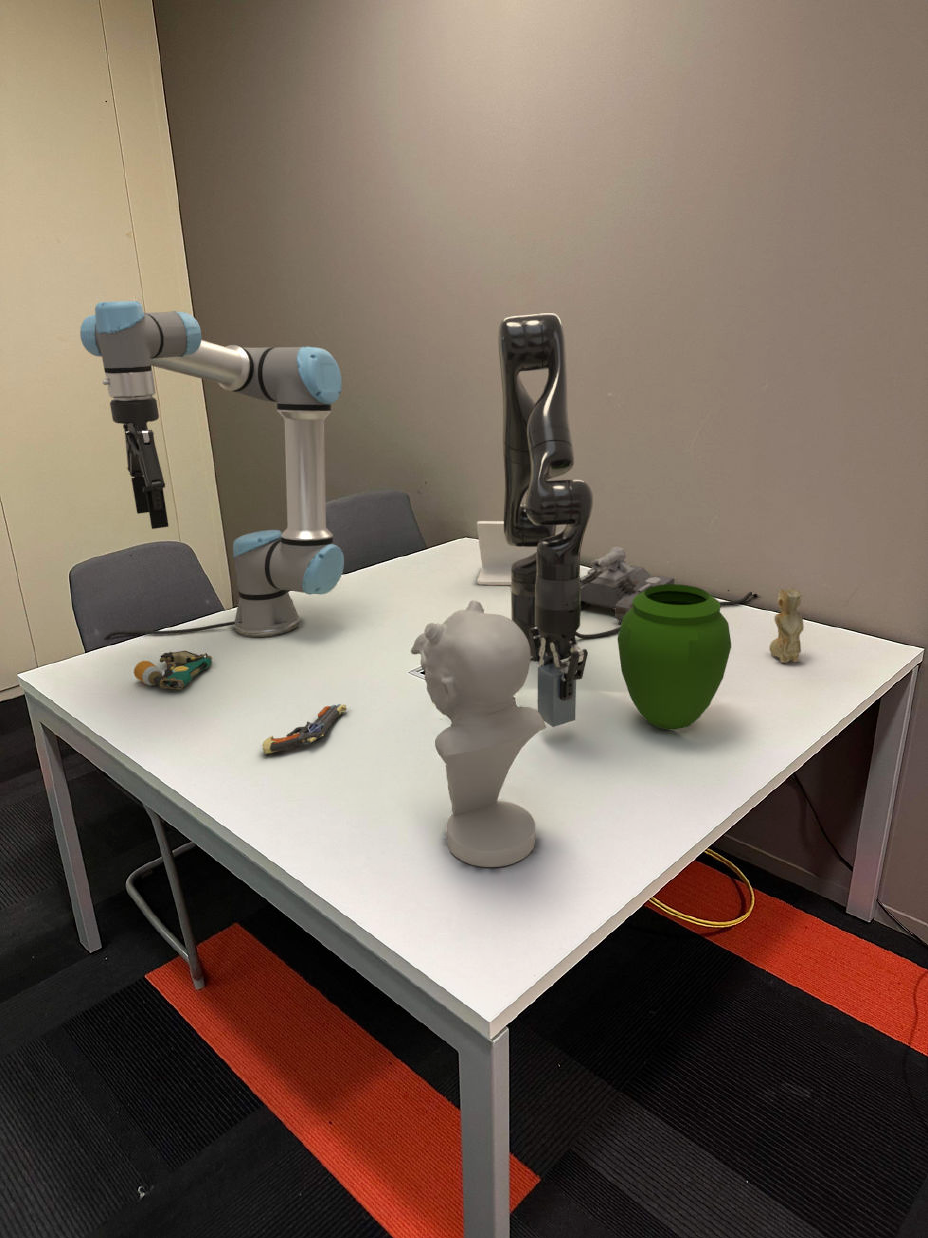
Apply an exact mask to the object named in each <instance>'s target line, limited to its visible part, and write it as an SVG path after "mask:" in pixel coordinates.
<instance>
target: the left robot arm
mask: <svg viewBox="0 0 928 1238" xmlns="http://www.w3.org/2000/svg"><path fill="white" fill-rule="evenodd" d="M94 313H95V314H91V315H89V316H87V317H85V318H84V319H83V320H82V322H81V324H80V331H79V333H80V335H79V336H80V341H81V343H82V346H84V349H85V350H86V351H87V352H88V353H89V354H91V355H93V356H95V357H99V358H101V360H102V364H103V370H104V373H105V375H104V376H105V377H106V378H104V379H102V384H103V385H104V386H107V392H108V393H107V394H108V396H109V397H110V398H112V399H111V400H110V402H109V405H110V406H109V407H110V412H111V413H110V414H111V417H112V421H113V422H114V423H116V424H121V425H122V429H123V431H124V432H123V433H124V439H125V440H124V441H125V450H126V451H125V453H126V461H127V468H126V469H127V471H128V472H129V476H130V477H131V485H132V491H133V496H134V503H135V509H136V513H137V514H138V515H139V514H147V513H148V514H149V520H150V527H151V529H152V530H155V529H162V528H169V520H168V513H167V508H166V507H167V506H166V500H165V494H164V489H165V487H166V482H165V480H164V476H163V472H162V468H161V463H160V459H159V454H158V451H157V447H156V442H155V437H154V434H155V433H154V431H153V430H152V429H149V427H148V422H149V423H151V422H155V421H157V420H158V419H159V418H160V414H159V406H158V401H157V398H155V397H154V395H155V394H156V386H155V379H154V373H153V372H154V371H153V368H152V367H154V368H158V369H162V370H166V371H170V372H174V373H177V374H181V375H186V376H189V377H193V378H197V379H201V380H206V381H209V382H214V383H217V384H218V385H219V387H220V388H222V389H224V390H226V391H229V392H233V393H236V394H239V395H244V396H246V397H250V398H253V399H257V400H261V401H265V402H271V403H272V402H273V403H276V411H277V413H279V414H280V416H281V417H282V418H283V420H284V444H285V445H284V448H285V483H286V487H285V488H286V516H287V517H286V519H287V521H286V522H287V527H286V529H284V531H283V532H282V531H281V530H278V529H266V530H259V531H254V532H249V533H246V534H243V535H241V536H239V537H237V538H235V539H234V541H233V543H232V552H233V553H232V554H233V555H232V558H233V565H234V571H235V578H236V584H237V591H238V592H237V593H238V603H237V606H236V612H235V617H234V620H233V621H228V622H227V621H226V622H222V623H216V624H211V625H206V626H205V625H204V626H200V627H193V628H185V629H172V630H171V629H170V630H115V631H112V632H109V633H108V634H107V635H106V636H105V637H104V638H103V641H107V640H109V639H110V638H111V637H113V636H116V635H127V636H128V635H129V636H130V635H171V634H173V635H174V634H175V635H176V634H185V633H193V632H201V631H207V630H213V629H217V628H223V627H229V626H230V627H231V626H234V630H235V632H236V633H237V634H239V635H241V636H244V637H250V638H267V637H274V636H280V635H283V634H286V633H289V632H292V631H293V630H295V629H296V628H297V627H298V626H299V625H300V615H299V613H298V610H297V609H296V606H295V604H294V601H293V599H292V598H291V595H290V593H289V591H290V592H295V593H303V594H305V595H327V594H328V593H331V592H332V591H333V590H334V589H335V587H337V585H338V583H339V582H340V580H341V578H342V575H343V572H344V567H345V557H344V553H343V552H342V549H341V548H340V547H339V546H337V545H336V544H334V535H333V533H332V532H331V530H329V529H328V527H327V511H326V509H327V508H326V506H327V505H326V503H327V501H326V455H325V454H326V452H325V451H326V449H325V448H326V447H325V445H326V444H325V420H326V418H327V417H328V416H329V415H330V414H331V412H332V404H334V403H336V402H337V401H338V399H339V398H340V395H341V393H342V387H343V380H342V374H341V370H340V367H339V364H338V362H337V361H336V360H335V358H334V356H333V355H332V354H331V353H330V351H327V350H326V349H324V348H321V347H313V346H308V345H307V346H285V347H283V346H282V347H277V346H276V347H274V346H268V347H267V346H266V347H265V346H264V347H245V346H244V347H243V346H239V345H236V344H229V345H227V346H223V345H220V344H216V343H214V342H210V341H206V340H204V339H202V337H203V336H202V331H201V326H200V324H199V322H198V321H197V319H196V318H195V317H194V316H193V315H192V314H190V313H188V312H185V311H177V310H173V311H172V310H171V311H163V312H160V311H159V312H144V309H143V305H142V303H141V302H140V301H138V300H121V301H119V300H118V301H117V300H116V301H100V302H98V303H97V304H95V307H94Z"/></svg>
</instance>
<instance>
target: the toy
mask: <svg viewBox="0 0 928 1238" xmlns="http://www.w3.org/2000/svg"><path fill="white" fill-rule="evenodd" d="M626 557H627V556H626V551H625V549H624V548H622V547H621V546H614V547H612V548H611V549H610V550H609V552H608V553H607V554H605V555H604V556H601V557H599V558H598V559H597V557H596V558H594V559H593V560H592V561H590V562H589V563H590V564H591V565H592V567H591V568H590V569H589V570H587V573H586V575H584V576H582V577H580V583H581V609H582V608H585V607H586V606H588V605H592V606H598V607H602V608H603V607H604V608H609V609H613V610H614V618H615V619H617V620H618V621H621V622H622V620H623V616H624V615H625V614H626V613H627V612H628V611H629V610H630V609H631V608H632V607H633V599H634V597H635V596H637V595H639V594H640V593H642V592H644V591H645V590H646V589H648V588H650V587H653V586H658V585H667V584H675V580H676V579H675V578H673V577H668V576H663V575H656V576H655V577H654V576H651V574H650V573H649V572H648V571H647V570H646V568H644V567H641V566H635V565H629V564H628V563H627V562H626V561H625V559H626Z"/></svg>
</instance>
